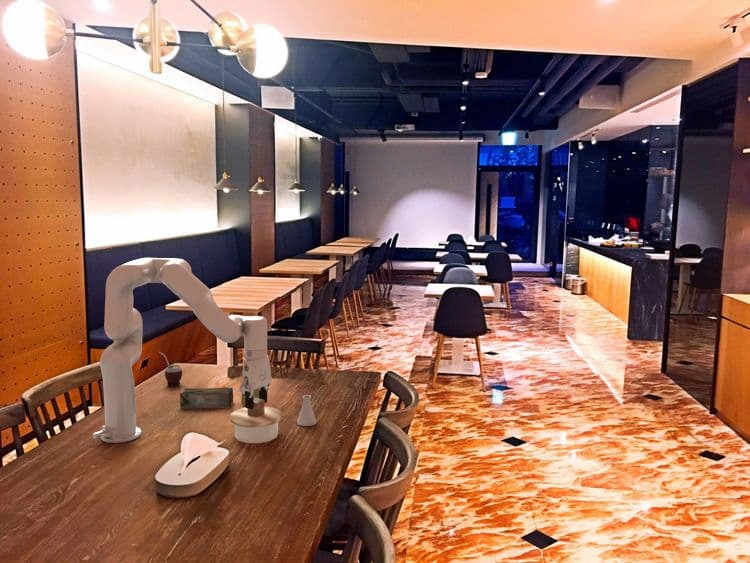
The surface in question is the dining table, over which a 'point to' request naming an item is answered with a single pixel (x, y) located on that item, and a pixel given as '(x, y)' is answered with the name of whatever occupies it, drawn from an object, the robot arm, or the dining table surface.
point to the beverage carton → (206, 398)
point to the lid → (256, 415)
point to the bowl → (256, 433)
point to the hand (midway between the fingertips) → (256, 404)
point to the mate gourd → (172, 374)
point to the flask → (306, 413)
